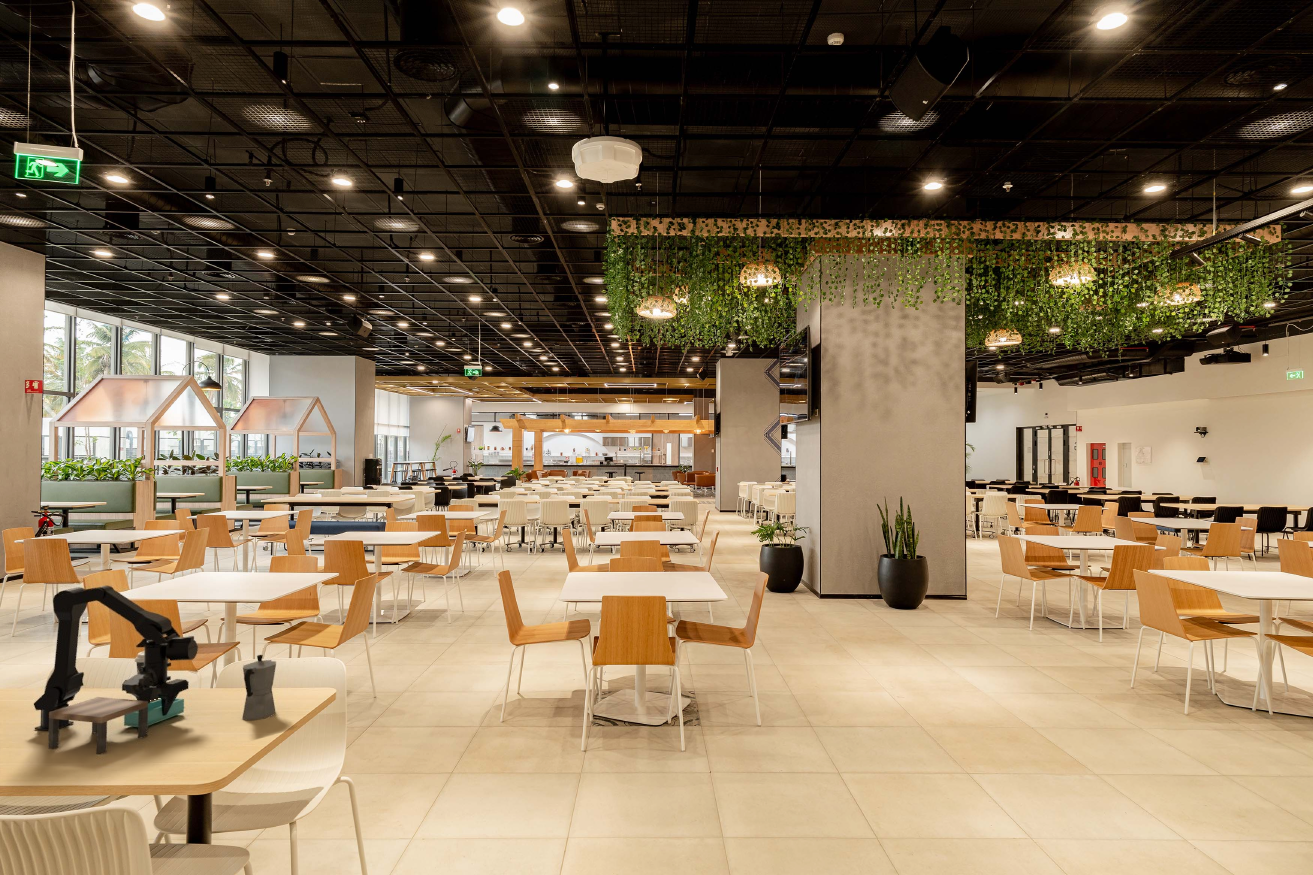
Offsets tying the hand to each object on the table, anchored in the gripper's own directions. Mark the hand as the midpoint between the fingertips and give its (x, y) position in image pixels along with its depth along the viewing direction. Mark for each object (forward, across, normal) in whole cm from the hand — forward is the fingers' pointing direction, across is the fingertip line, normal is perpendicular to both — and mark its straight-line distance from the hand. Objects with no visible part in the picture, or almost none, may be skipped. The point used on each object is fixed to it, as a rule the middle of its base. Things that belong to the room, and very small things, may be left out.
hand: (154, 714), depth 210 cm
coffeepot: (+2, +27, +10) cm, 29 cm away
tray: (+1, 0, 0) cm, 1 cm away
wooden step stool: (+2, 0, -16) cm, 17 cm away
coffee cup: (+2, -21, +17) cm, 27 cm away
